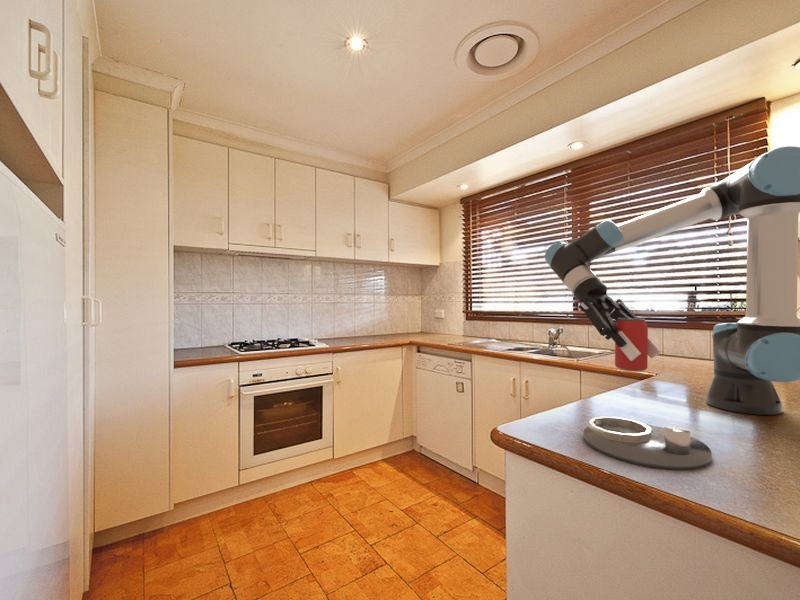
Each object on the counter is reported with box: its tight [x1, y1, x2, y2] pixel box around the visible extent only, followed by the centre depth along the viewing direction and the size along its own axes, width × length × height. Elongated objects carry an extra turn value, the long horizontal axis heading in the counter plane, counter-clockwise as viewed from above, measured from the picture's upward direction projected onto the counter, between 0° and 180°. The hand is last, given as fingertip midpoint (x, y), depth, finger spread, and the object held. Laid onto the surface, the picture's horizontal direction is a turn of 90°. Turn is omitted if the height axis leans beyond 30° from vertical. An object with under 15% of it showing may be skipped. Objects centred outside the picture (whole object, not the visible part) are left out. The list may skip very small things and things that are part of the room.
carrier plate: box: [583, 416, 713, 471], centre depth 76 cm, size 22×22×5 cm
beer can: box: [614, 317, 649, 372], centre depth 86 cm, size 7×7×12 cm
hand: (646, 355), depth 83 cm, fingers closed on beer can, 6 cm apart
